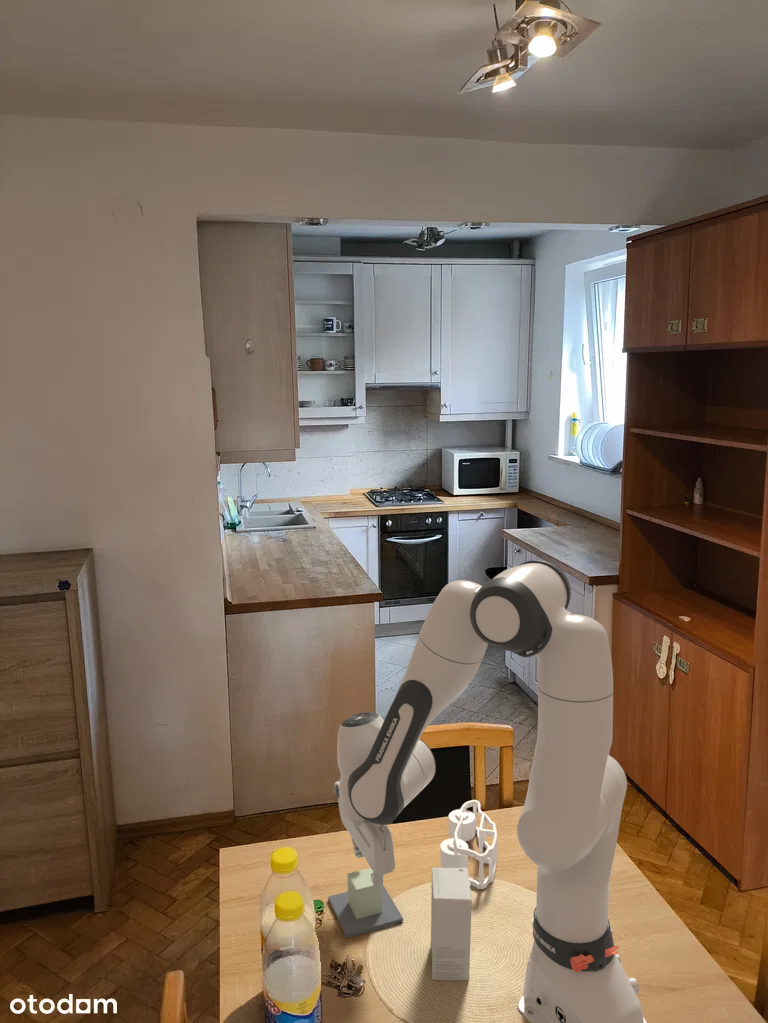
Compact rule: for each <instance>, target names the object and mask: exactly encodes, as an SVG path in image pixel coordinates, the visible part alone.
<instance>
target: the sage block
mask: <svg viewBox="0 0 768 1023" xmlns="http://www.w3.org/2000/svg"><path fill="white" fill-rule="evenodd" d="M372 873H373V870H372V869H371V867H368V868H365V869H360V870H358V871H354V872H349V873H347V891H348V903H349V905H350V907H351V909H352V911H353V913H354V915H355V917H356V919H360V918H363V917H367V916H371V915H374V914H378V913H381V912H382V885H380V886H377V887H375V886H374V885H373V883H372V881H371V874H372Z"/></svg>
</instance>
